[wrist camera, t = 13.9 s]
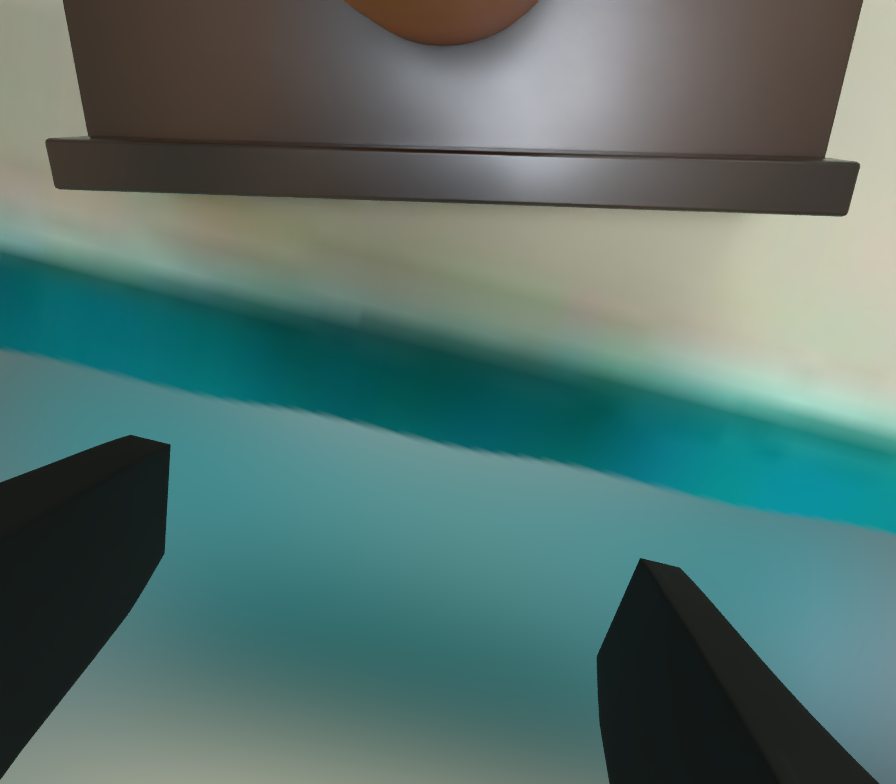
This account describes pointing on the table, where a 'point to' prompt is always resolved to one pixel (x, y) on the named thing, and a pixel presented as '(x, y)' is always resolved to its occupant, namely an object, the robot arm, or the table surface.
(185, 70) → the shelf
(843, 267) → the table surface
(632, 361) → the table surface
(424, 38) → the can
